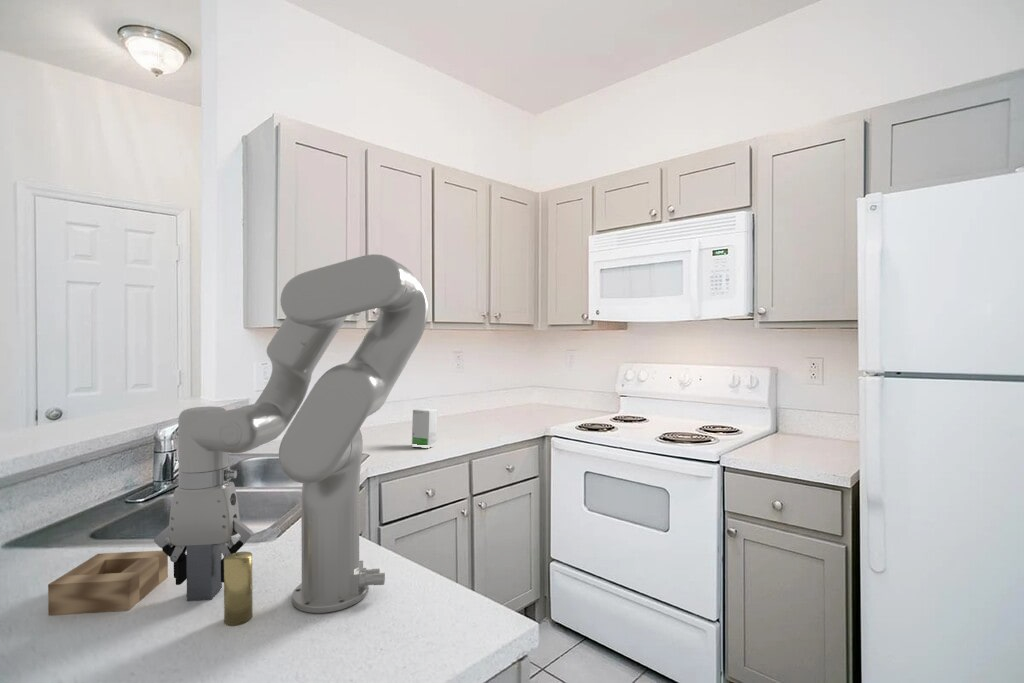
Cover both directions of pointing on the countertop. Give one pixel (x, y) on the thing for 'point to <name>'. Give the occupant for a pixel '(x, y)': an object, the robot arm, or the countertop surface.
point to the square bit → (203, 572)
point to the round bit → (238, 588)
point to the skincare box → (424, 426)
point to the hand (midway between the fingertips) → (204, 579)
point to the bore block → (107, 583)
